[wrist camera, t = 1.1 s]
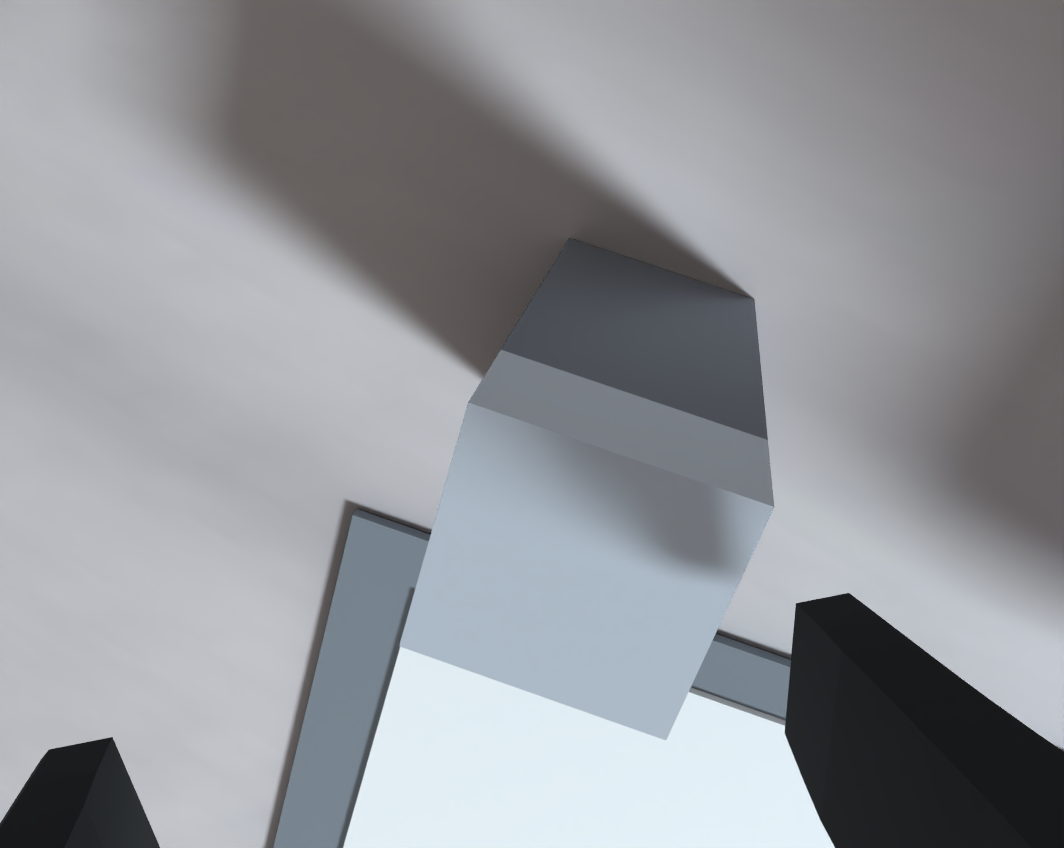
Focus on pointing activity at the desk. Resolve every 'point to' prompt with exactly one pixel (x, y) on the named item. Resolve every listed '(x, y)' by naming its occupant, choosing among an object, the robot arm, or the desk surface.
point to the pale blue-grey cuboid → (602, 493)
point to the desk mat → (523, 743)
